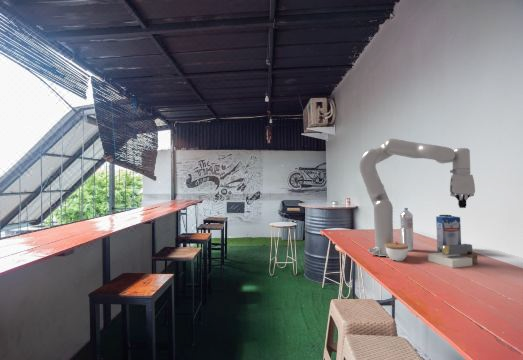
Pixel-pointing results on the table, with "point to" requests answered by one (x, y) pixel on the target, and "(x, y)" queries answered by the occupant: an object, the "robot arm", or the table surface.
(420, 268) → the table surface
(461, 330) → the table surface
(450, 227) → the milk carton
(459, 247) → the latch bar
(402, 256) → the lidded jar
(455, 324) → the table surface
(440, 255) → the door panel
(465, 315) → the table surface
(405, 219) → the water bottle
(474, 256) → the jamb block
